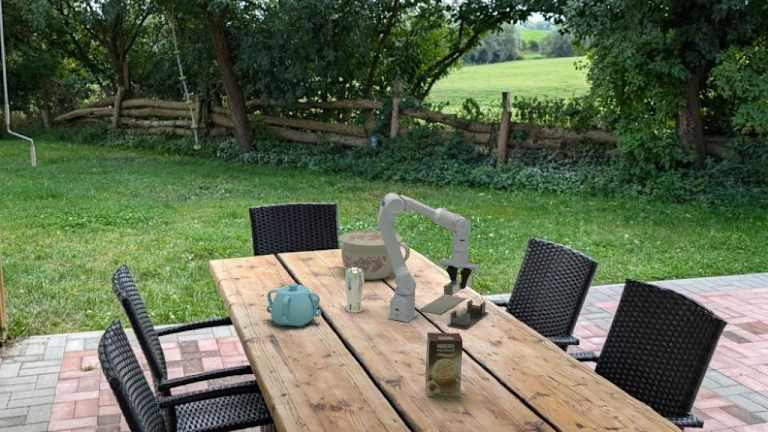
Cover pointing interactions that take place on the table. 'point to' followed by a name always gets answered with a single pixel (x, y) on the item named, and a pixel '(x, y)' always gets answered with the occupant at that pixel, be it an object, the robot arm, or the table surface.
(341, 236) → the chamber pot
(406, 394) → the table surface
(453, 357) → the coffee box
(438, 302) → the pad
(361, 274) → the beer glass
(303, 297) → the decorative pot
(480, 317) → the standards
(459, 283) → the rail
